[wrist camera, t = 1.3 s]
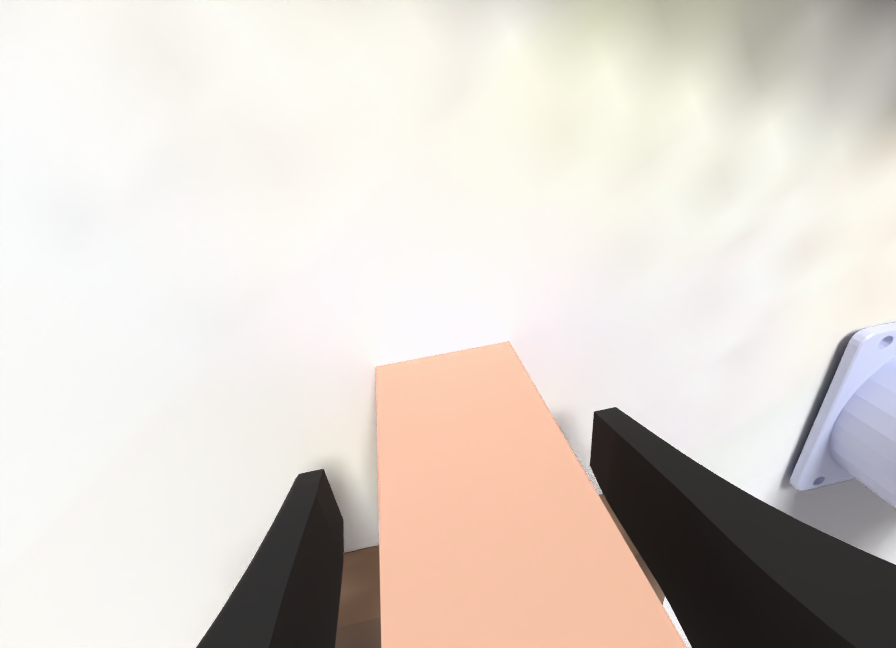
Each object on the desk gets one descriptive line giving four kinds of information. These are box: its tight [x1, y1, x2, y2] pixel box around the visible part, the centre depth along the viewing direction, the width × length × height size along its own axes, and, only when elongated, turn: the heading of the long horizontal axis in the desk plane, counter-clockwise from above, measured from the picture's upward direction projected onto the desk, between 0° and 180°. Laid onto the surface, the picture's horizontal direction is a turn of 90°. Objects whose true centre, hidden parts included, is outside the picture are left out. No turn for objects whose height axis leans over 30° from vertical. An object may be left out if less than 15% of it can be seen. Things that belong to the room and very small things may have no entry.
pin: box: [376, 341, 687, 648], centre depth 10 cm, size 4×4×8 cm
